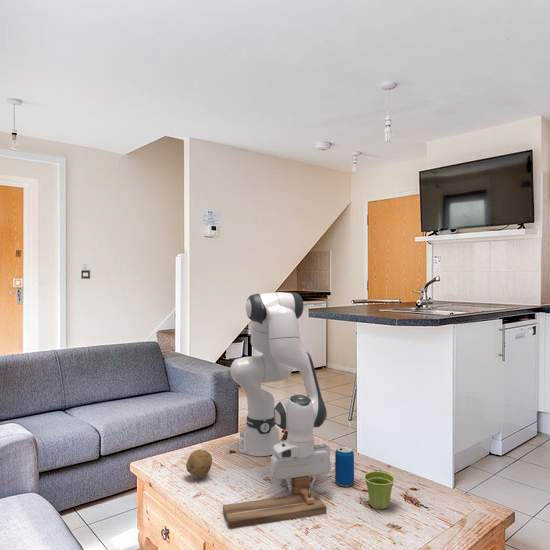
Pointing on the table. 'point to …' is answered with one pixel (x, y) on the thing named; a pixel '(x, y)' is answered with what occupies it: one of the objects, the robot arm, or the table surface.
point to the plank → (271, 510)
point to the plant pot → (379, 488)
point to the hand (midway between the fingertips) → (300, 489)
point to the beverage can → (344, 466)
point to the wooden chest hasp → (302, 488)
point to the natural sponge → (199, 463)
